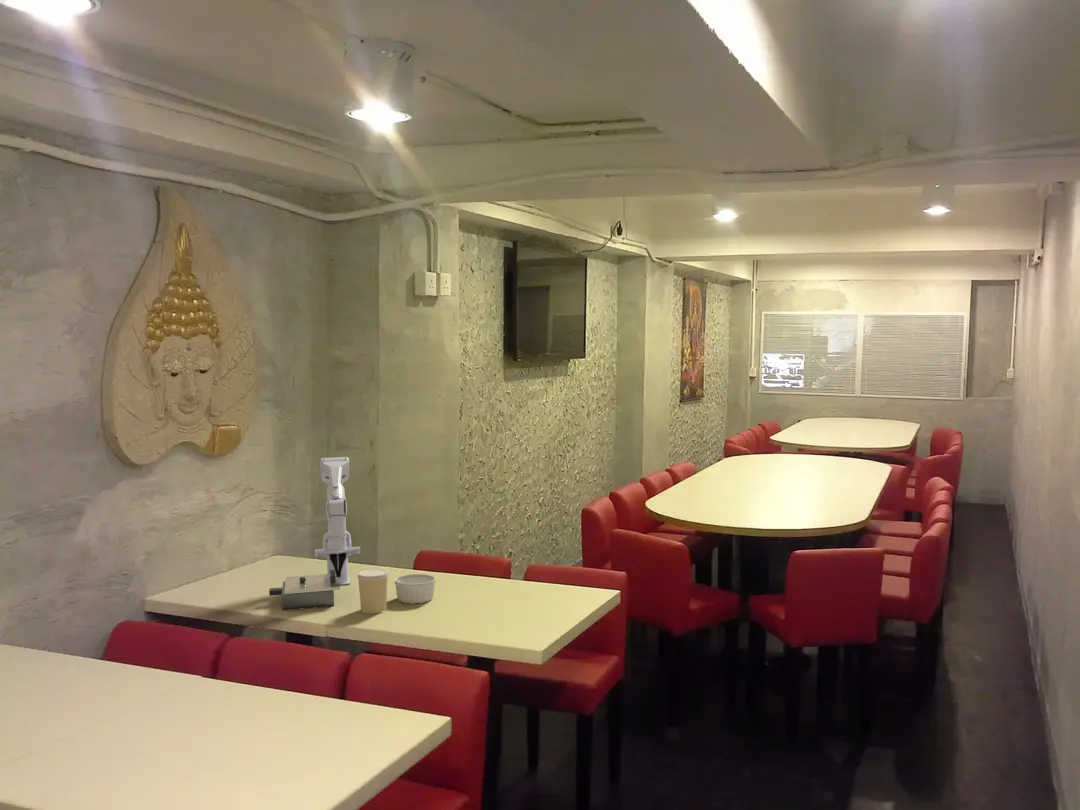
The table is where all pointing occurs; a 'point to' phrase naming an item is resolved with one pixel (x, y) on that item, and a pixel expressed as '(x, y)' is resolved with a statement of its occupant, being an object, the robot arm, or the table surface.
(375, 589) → the coffee cup
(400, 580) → the ramekin
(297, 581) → the lid
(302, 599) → the gray rectangular box
